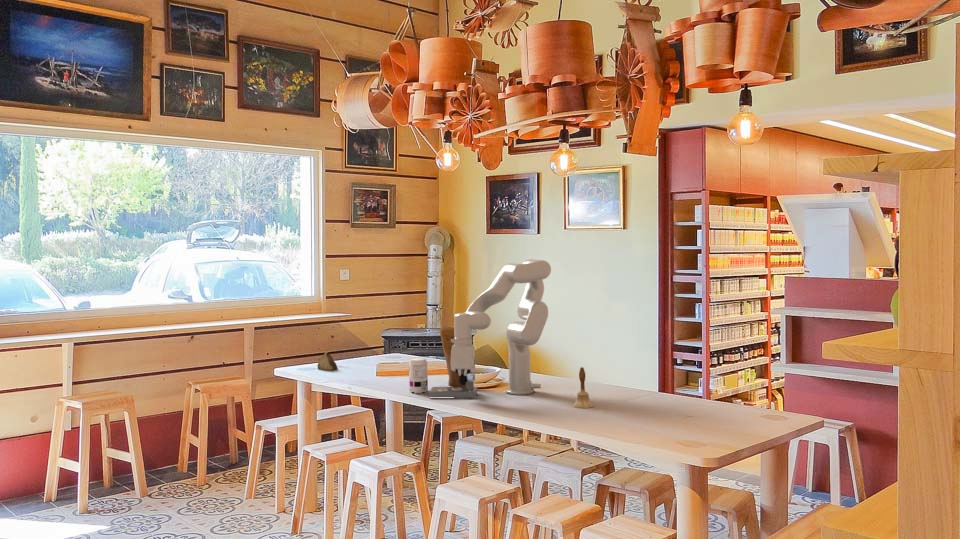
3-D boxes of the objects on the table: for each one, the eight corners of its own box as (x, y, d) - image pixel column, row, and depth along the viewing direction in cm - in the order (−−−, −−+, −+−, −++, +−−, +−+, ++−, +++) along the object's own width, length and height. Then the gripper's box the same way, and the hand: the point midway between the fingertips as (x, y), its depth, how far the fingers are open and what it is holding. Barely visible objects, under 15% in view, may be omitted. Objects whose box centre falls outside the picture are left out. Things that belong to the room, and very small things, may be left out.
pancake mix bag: (468, 390, 354) (466, 329, 352) (439, 385, 367) (438, 326, 366) (478, 388, 359) (477, 327, 357) (450, 382, 372) (448, 324, 370)
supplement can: (406, 393, 352) (405, 360, 351) (416, 389, 359) (415, 357, 358) (421, 394, 348) (420, 361, 347) (431, 390, 355) (430, 358, 355)
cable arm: (466, 379, 347) (466, 373, 347) (475, 379, 347) (474, 373, 347) (465, 388, 327) (465, 382, 327) (474, 388, 327) (474, 382, 327)
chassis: (477, 393, 348) (476, 379, 347) (475, 398, 338) (474, 384, 337) (432, 393, 350) (432, 379, 349) (429, 398, 340) (429, 384, 339)
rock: (311, 365, 415) (319, 365, 407) (319, 351, 418) (327, 350, 410) (327, 375, 420) (335, 375, 412) (335, 361, 423) (343, 361, 415)
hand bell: (577, 409, 315) (577, 370, 314) (570, 404, 323) (569, 366, 322) (596, 407, 317) (596, 368, 316) (588, 402, 325) (587, 365, 324)
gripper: (443, 342, 331) (444, 385, 332) (478, 343, 328) (478, 387, 329) (448, 340, 338) (448, 382, 339) (481, 341, 335) (482, 383, 336)
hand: (463, 384), depth 334 cm, fingers closed
